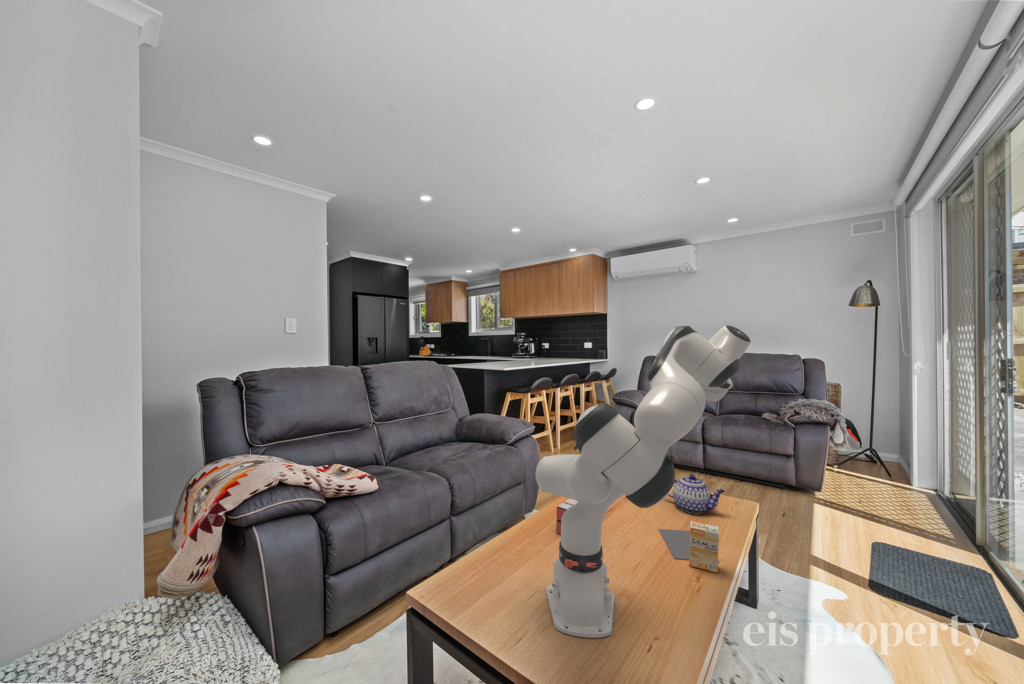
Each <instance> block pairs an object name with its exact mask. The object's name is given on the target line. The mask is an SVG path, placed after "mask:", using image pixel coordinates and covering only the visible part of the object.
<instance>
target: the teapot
mask: <svg viewBox="0 0 1024 684" xmlns="http://www.w3.org/2000/svg"><path fill="white" fill-rule="evenodd" d="M725 492H726V490H724V489H722V488H718V489H716V491H715V492H714V493H713V494H712V491H711V489H710V488H709V487H708V486H707V484H706V482H705V481H704V480H703V479H701V478H697V476H696V475H695V474H693V473H692V474H689V475H688V476H682V477H680V478H679V479H678V480H676V479H675V480H674V485H673V487H672V493H670V492H669V494H668V495H667V496H669V498H671V499H673V501H674V502H675V504H676V505H677V507H678V508H679V509H680V510H681V511H683V512H684V511H685V513H687V512H688V514H691V513H693V514H694V515H701V513H702V514H703V513H705V512H707V511H713V510H715V509H716V508H717V507H718V505H719V500H720V497H721V496H720V495H722V494H723V493H725ZM693 514H692V515H693Z"/></svg>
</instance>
